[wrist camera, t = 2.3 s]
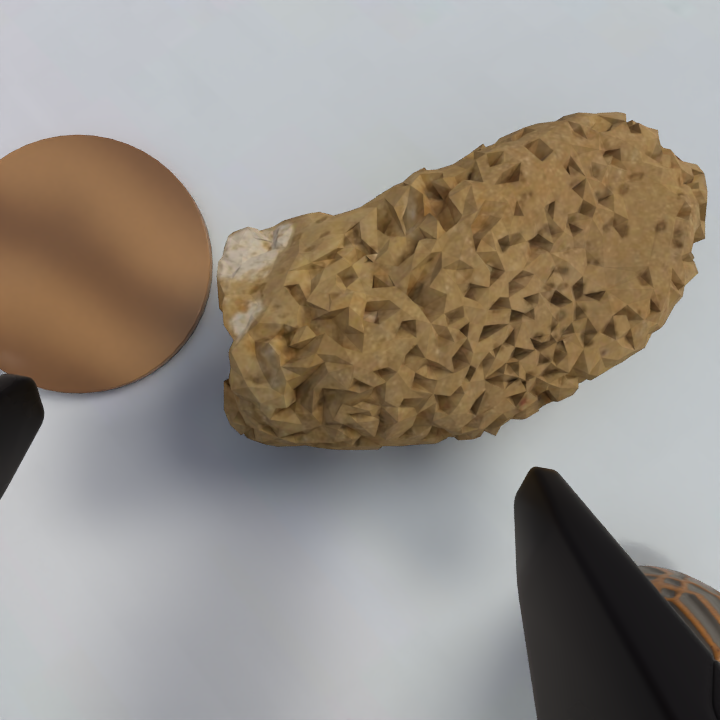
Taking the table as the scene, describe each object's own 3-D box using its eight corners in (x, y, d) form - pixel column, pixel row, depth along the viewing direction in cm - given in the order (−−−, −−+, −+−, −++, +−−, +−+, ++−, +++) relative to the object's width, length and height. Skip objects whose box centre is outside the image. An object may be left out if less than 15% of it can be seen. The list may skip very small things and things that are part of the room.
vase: (605, 719, 24) (760, 925, 15) (523, 600, 24) (631, 738, 15) (718, 634, 24) (937, 787, 15) (638, 517, 24) (811, 603, 15)
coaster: (156, 430, 23) (152, 431, 23) (-88, 338, 23) (-98, 337, 22) (250, 195, 23) (248, 191, 23) (11, 101, 23) (4, 94, 23)
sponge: (274, 458, 24) (716, 426, 21) (193, 461, 17) (863, 410, 14) (266, 216, 27) (658, 152, 24) (193, 124, 20) (753, 11, 16)
